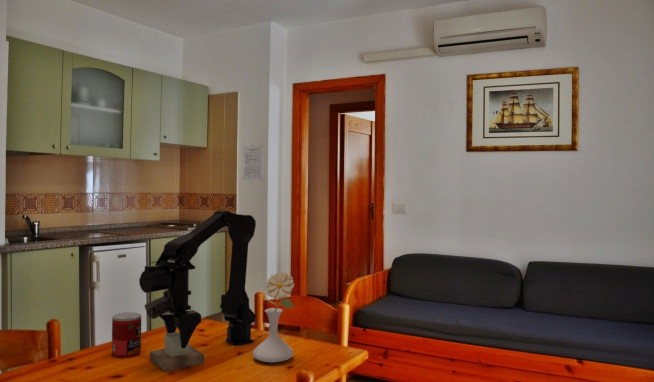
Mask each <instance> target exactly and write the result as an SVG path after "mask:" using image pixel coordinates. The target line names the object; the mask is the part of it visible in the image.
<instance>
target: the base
mask: <svg viewBox="0 0 654 382" xmlns="http://www.w3.org/2000/svg"><path fill="white" fill-rule="evenodd" d="M164 350H165V348H161V349H156V350H155V349H154V350H150V351H149V361H150V362H152V363H153V364H154V365H155V366H156V367H158V368H159V369H160V370H161V371H162V372H163V373H167V372H170V371H174V370H175V371H176V370H180V369H184V368H189V367H190V368H191V367H193V366H199V365H204V364H205V354H204V353H202V352H201V351H200V350H198V349H196V348H194V347H193V346H192V345H190V344H189V354H184V355H179V356H174V357H170V356H169V355H168V354H166V353H165V352H164Z"/></svg>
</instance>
